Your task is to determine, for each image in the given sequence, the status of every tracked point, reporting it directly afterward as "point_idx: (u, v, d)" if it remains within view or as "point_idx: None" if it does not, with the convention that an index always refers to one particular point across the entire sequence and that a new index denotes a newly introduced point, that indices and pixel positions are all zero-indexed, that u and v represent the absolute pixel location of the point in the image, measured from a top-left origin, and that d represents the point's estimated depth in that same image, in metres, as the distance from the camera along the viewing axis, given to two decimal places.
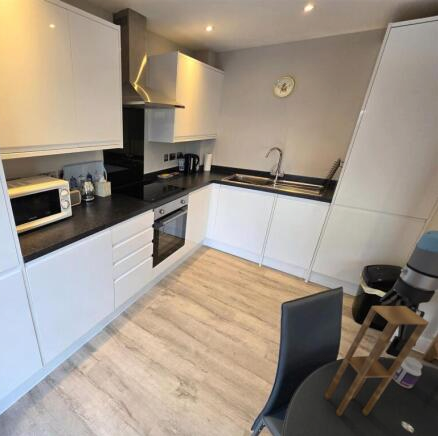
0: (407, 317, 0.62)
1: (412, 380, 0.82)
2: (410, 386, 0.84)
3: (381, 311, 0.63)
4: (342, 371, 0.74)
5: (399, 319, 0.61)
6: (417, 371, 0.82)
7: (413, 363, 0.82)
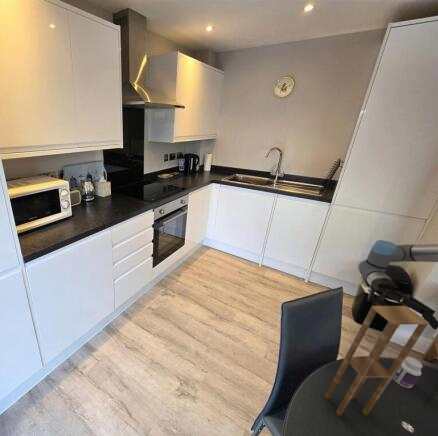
0: (407, 317, 0.62)
1: (412, 380, 0.82)
2: (410, 386, 0.84)
3: (381, 311, 0.63)
4: (342, 371, 0.74)
5: (399, 319, 0.61)
6: (417, 371, 0.82)
7: (413, 363, 0.82)
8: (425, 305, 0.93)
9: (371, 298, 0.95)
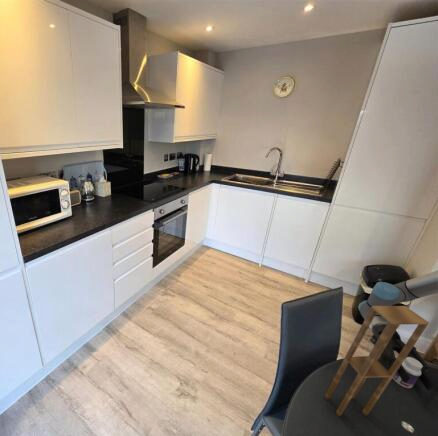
0: (407, 317, 0.62)
1: (412, 380, 0.82)
2: (410, 386, 0.84)
3: (381, 311, 0.63)
4: (342, 371, 0.74)
5: (399, 319, 0.61)
6: (417, 371, 0.82)
7: (413, 363, 0.82)
8: (423, 360, 0.86)
9: (386, 357, 0.87)
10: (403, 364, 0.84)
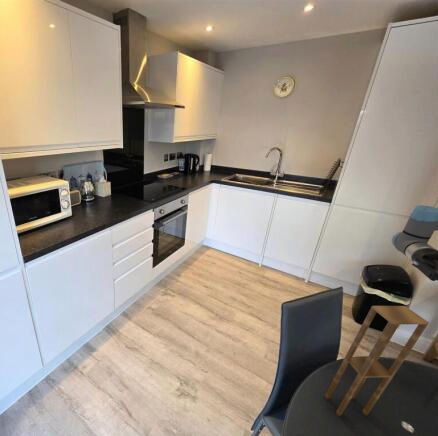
0: (407, 317, 0.62)
1: None
2: None
3: (381, 311, 0.63)
4: (342, 371, 0.74)
5: (399, 319, 0.61)
6: None
7: None
8: None
9: (437, 276, 0.74)
10: None
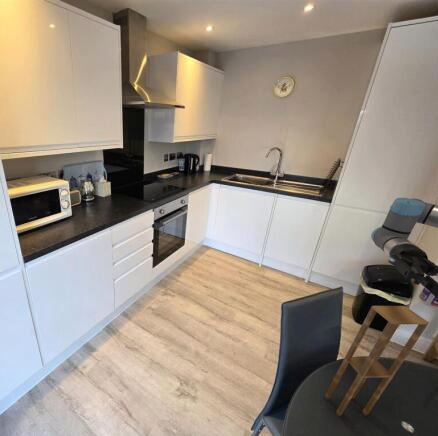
0: (407, 317, 0.62)
1: None
2: None
3: (381, 311, 0.63)
4: (342, 371, 0.74)
5: (399, 319, 0.61)
6: None
7: None
8: None
9: (412, 273, 0.67)
10: (435, 278, 0.64)
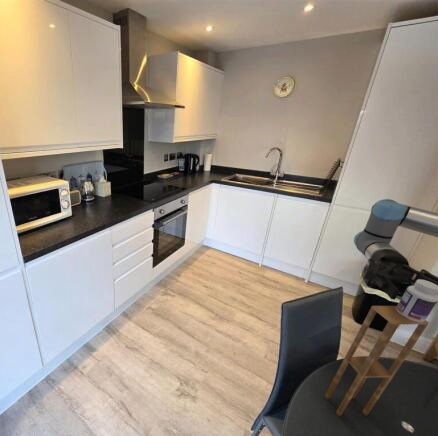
0: None
1: (425, 310, 0.59)
2: (422, 319, 0.60)
3: (381, 311, 0.63)
4: (342, 371, 0.74)
5: (399, 319, 0.61)
6: (432, 296, 0.58)
7: (427, 285, 0.59)
8: None
9: (369, 273, 0.66)
10: (412, 289, 0.61)
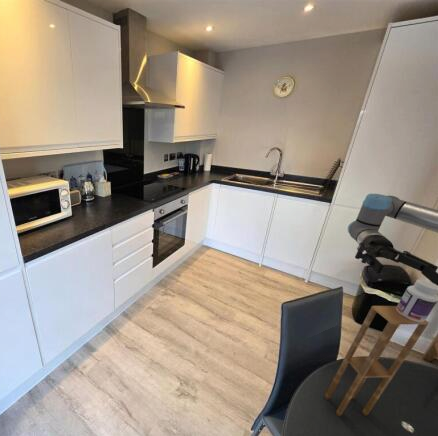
0: None
1: (425, 309, 0.59)
2: (422, 319, 0.60)
3: (381, 311, 0.63)
4: (342, 371, 0.74)
5: (399, 319, 0.61)
6: (432, 296, 0.58)
7: (427, 285, 0.59)
8: (426, 261, 0.76)
9: (359, 254, 0.79)
10: (412, 289, 0.61)
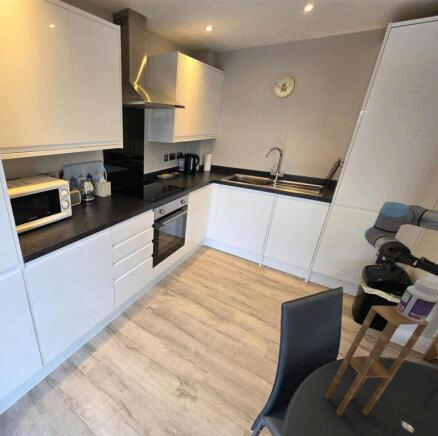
0: None
1: (425, 309, 0.59)
2: (422, 319, 0.60)
3: (381, 311, 0.63)
4: (342, 371, 0.74)
5: (399, 319, 0.61)
6: (432, 296, 0.58)
7: (427, 285, 0.59)
8: None
9: (379, 260, 0.83)
10: (412, 289, 0.61)
